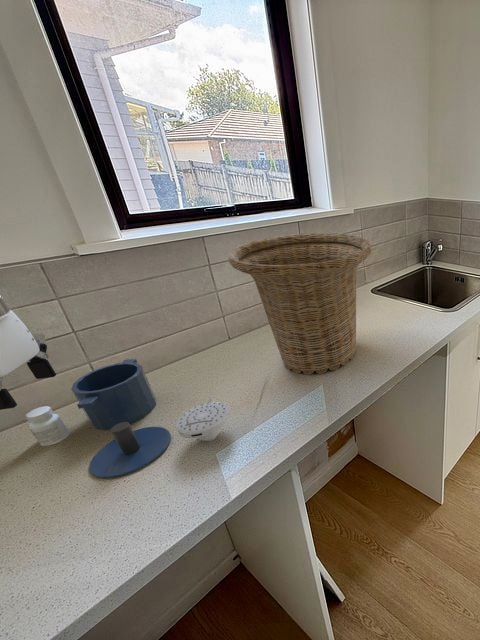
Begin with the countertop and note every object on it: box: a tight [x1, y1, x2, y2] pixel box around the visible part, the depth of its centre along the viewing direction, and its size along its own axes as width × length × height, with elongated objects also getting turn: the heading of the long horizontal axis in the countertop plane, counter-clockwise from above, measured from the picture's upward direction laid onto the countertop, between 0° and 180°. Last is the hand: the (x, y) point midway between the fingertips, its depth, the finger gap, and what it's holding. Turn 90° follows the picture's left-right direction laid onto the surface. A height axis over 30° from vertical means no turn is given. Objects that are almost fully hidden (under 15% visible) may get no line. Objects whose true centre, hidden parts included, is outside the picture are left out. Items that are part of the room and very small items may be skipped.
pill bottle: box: [25, 405, 70, 447], centre depth 69 cm, size 4×4×8 cm
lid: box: [89, 422, 172, 479], centre depth 66 cm, size 13×13×7 cm
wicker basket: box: [227, 232, 372, 376], centre depth 94 cm, size 35×35×33 cm
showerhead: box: [175, 397, 232, 442], centre depth 70 cm, size 9×7×10 cm
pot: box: [71, 358, 157, 431], centre depth 76 cm, size 12×17×10 cm
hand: (27, 391), depth 65 cm, fingers open, 9 cm apart
